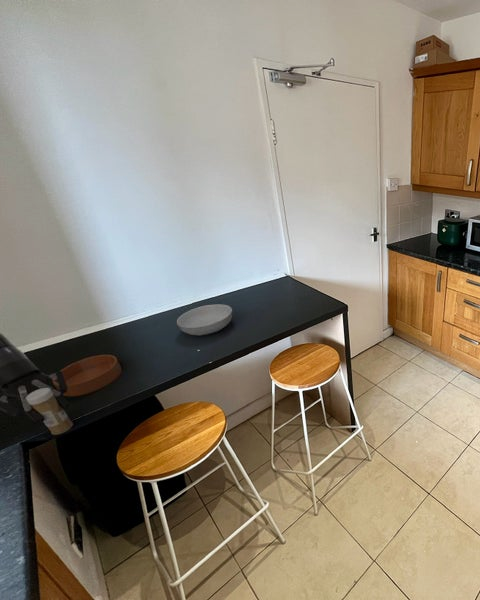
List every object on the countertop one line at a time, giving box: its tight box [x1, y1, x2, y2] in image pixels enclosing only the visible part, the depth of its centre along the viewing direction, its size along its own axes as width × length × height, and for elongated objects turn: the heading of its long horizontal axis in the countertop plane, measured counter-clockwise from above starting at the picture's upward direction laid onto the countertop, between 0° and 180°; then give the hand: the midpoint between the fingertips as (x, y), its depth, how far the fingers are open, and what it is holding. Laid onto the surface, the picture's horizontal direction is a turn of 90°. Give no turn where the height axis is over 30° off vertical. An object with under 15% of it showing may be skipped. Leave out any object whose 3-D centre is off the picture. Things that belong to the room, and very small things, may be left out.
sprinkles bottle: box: [26, 388, 74, 436], centre depth 85 cm, size 5×5×13 cm
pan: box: [52, 354, 123, 397], centre depth 107 cm, size 16×16×4 cm
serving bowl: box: [176, 303, 233, 336], centre depth 136 cm, size 21×21×7 cm
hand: (54, 414), depth 85 cm, fingers closed on sprinkles bottle, 4 cm apart
